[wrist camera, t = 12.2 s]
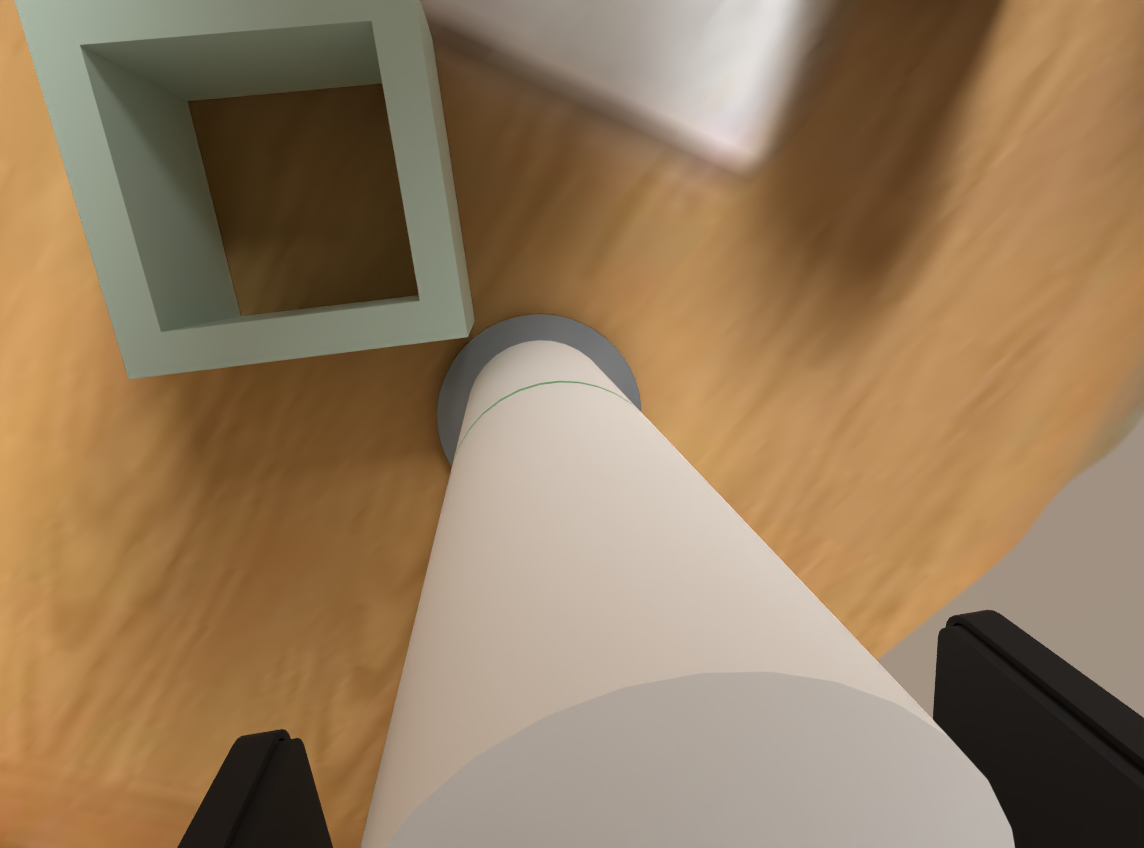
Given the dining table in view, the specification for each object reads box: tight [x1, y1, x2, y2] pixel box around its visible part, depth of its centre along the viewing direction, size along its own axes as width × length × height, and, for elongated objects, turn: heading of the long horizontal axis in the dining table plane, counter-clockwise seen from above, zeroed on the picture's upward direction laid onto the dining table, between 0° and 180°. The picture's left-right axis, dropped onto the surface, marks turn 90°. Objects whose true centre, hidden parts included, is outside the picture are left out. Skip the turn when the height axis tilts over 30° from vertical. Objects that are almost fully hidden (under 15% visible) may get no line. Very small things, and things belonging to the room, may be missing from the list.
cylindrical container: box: [360, 340, 1015, 848], centre depth 18 cm, size 7×7×25 cm
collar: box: [15, 0, 475, 379], centre depth 24 cm, size 12×12×7 cm
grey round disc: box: [437, 314, 641, 467], centre depth 31 cm, size 10×10×1 cm
